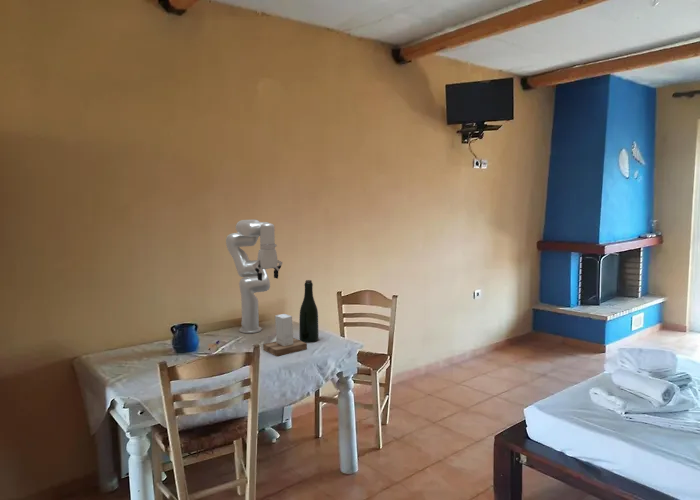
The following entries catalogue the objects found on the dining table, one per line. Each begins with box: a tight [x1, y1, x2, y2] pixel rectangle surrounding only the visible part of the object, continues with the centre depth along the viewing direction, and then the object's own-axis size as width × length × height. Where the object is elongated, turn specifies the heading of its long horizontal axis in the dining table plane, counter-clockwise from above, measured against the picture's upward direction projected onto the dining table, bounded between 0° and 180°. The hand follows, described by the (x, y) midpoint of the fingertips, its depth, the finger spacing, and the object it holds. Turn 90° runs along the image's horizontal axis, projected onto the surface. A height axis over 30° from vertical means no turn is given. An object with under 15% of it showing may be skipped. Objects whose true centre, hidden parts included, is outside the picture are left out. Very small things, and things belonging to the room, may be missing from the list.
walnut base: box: [262, 337, 308, 357], centre depth 266 cm, size 13×18×3 cm
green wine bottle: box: [298, 279, 320, 343], centre depth 280 cm, size 10×10×33 cm
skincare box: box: [274, 313, 294, 346], centre depth 264 cm, size 8×6×15 cm
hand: (268, 279), depth 274 cm, fingers open, 9 cm apart
